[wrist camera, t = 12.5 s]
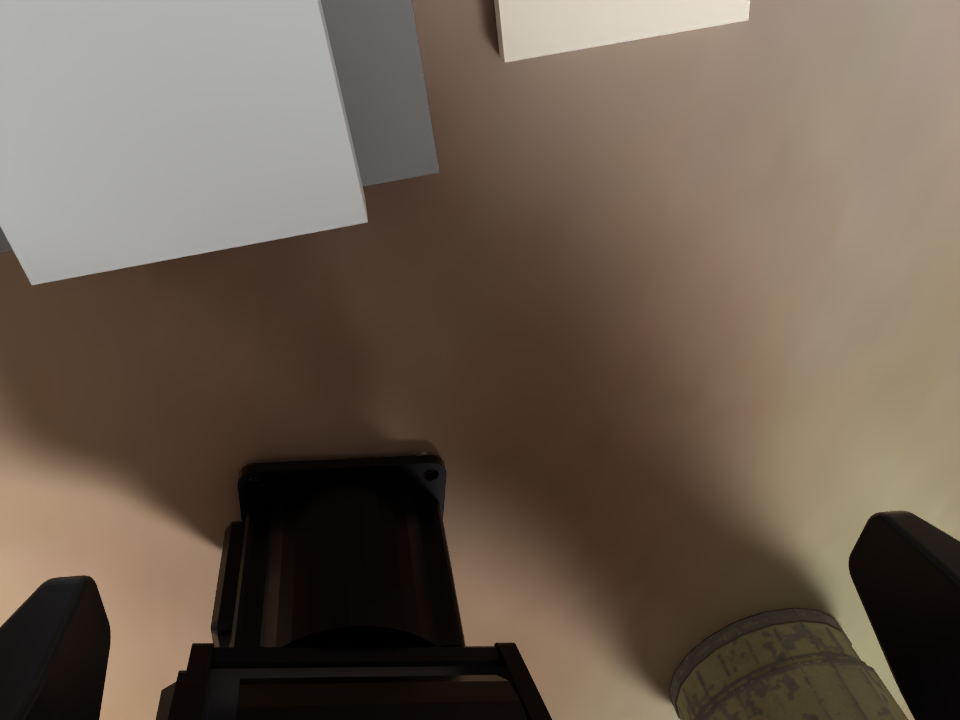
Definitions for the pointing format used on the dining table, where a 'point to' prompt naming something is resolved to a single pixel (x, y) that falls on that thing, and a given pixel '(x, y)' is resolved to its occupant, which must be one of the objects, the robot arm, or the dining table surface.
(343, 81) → the keypad board
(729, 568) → the dining table surface
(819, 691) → the thermos
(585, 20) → the card
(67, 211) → the grey-blue key
